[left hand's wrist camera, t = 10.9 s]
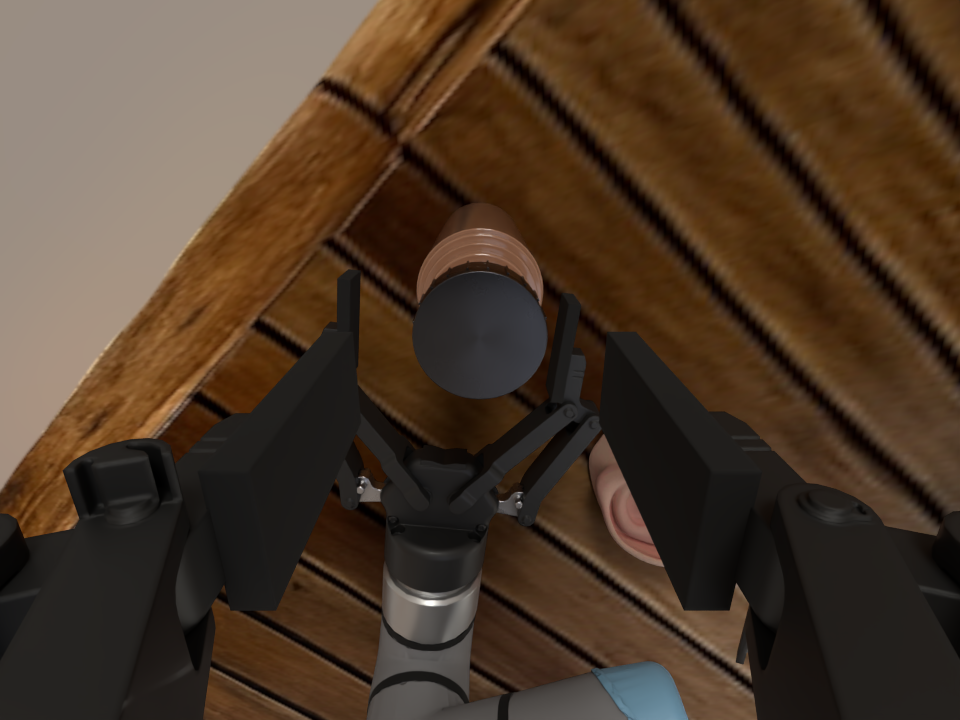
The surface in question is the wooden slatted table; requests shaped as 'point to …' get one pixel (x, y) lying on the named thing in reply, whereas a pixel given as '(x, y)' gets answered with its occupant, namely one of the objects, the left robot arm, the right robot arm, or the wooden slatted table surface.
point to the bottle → (479, 246)
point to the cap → (480, 330)
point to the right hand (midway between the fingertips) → (461, 285)
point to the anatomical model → (619, 505)
